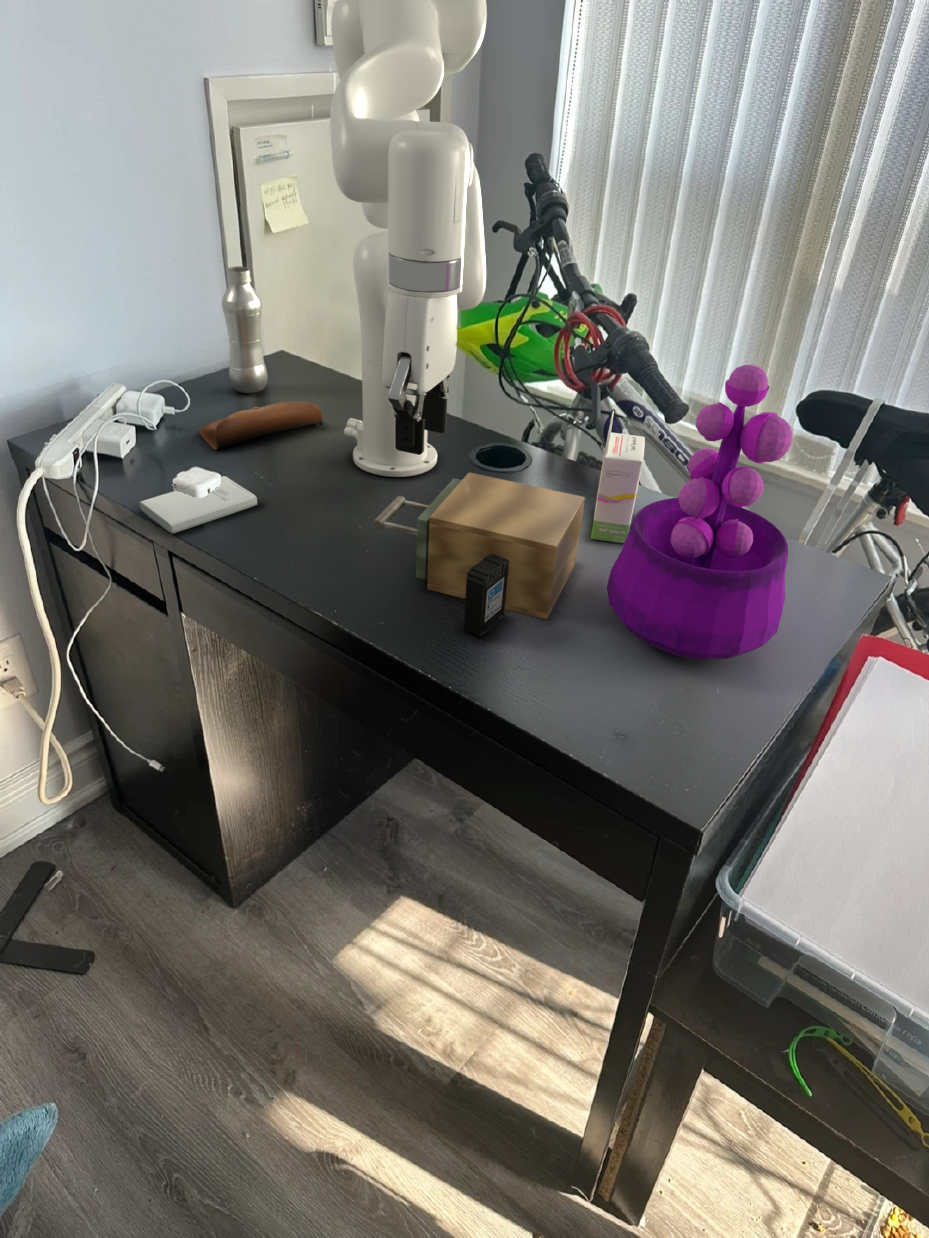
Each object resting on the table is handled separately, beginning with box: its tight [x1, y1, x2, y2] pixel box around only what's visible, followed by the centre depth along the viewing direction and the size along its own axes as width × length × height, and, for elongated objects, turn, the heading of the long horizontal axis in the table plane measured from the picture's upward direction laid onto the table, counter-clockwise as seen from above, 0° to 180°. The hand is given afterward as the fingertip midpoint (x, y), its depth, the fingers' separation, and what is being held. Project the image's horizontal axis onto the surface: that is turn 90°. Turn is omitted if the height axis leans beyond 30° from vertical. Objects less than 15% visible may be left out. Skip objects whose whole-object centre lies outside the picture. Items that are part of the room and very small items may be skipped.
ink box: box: [590, 410, 646, 544], centre depth 108 cm, size 9×5×15 cm, turn 168°
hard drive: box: [139, 475, 258, 535], centre depth 110 cm, size 2×8×12 cm
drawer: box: [372, 478, 463, 580], centre depth 100 cm, size 20×11×8 cm, turn 70°
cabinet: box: [426, 472, 586, 620], centre depth 98 cm, size 15×13×10 cm
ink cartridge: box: [463, 554, 509, 639], centre depth 90 cm, size 5×2×8 cm, turn 146°
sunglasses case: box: [198, 401, 323, 451], centre depth 131 cm, size 18×7×7 cm
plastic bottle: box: [221, 265, 269, 394], centre depth 140 cm, size 6×7×20 cm
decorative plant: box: [606, 364, 794, 661], centre depth 86 cm, size 19×18×30 cm
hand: (421, 439), depth 95 cm, fingers open, 5 cm apart
